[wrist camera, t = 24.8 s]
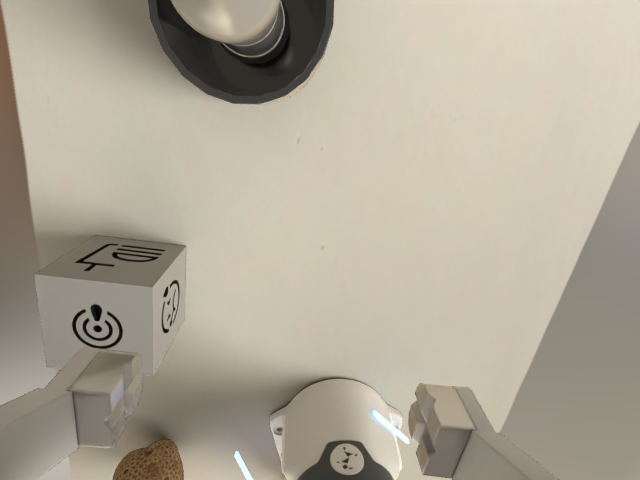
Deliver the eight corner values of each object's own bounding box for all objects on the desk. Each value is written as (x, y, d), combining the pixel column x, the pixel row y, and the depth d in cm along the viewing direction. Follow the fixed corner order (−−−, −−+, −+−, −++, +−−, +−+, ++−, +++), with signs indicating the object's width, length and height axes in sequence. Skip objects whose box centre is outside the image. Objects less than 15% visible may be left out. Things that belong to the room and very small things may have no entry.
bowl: (324, 105, 37) (330, 106, 29) (193, 102, 36) (160, 101, 28) (328, -52, 32) (337, -107, 24) (178, -60, 32) (133, -118, 23)
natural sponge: (138, 470, 54) (103, 547, 45) (124, 425, 51) (83, 498, 41) (199, 466, 54) (177, 541, 45) (189, 421, 51) (163, 492, 42)
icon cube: (95, 235, 41) (33, 274, 31) (186, 246, 42) (152, 287, 32) (100, 311, 44) (46, 367, 35) (184, 319, 45) (153, 376, 36)
